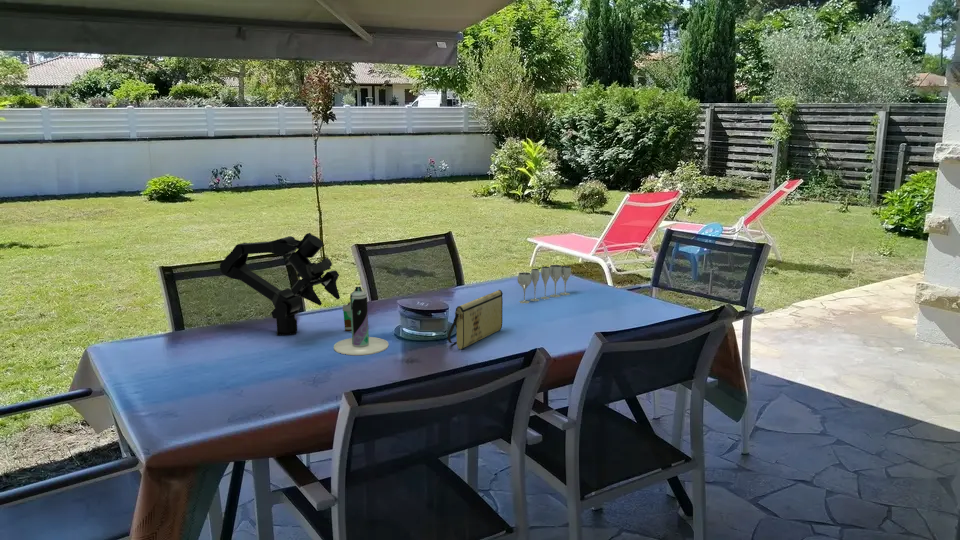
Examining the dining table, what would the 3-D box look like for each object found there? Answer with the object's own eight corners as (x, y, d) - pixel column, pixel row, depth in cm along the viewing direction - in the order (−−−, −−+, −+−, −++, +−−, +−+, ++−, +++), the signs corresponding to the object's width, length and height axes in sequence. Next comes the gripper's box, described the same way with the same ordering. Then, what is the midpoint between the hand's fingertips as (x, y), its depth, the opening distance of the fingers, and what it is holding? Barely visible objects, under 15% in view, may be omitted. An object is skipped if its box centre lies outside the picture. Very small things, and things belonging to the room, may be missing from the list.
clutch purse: (488, 327, 265) (488, 287, 262) (505, 330, 262) (505, 289, 259) (441, 349, 241) (441, 305, 238) (459, 352, 237) (459, 308, 234)
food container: (359, 333, 258) (358, 306, 256) (343, 332, 259) (342, 305, 257) (371, 324, 270) (370, 297, 267) (356, 323, 271) (355, 296, 269)
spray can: (359, 348, 239) (356, 289, 235) (348, 345, 243) (346, 286, 239) (372, 344, 243) (370, 286, 239) (361, 341, 247) (359, 283, 243)
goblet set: (564, 292, 317) (565, 262, 314) (573, 294, 313) (574, 264, 310) (514, 301, 301) (514, 270, 298) (523, 304, 296) (523, 272, 294)
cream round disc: (335, 357, 232) (335, 355, 232) (332, 340, 249) (331, 339, 249) (391, 352, 237) (391, 351, 237) (384, 336, 254) (384, 335, 254)
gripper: (296, 256, 239) (323, 293, 236) (333, 247, 255) (360, 281, 252) (279, 277, 244) (306, 313, 241) (317, 267, 260) (343, 301, 257)
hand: (330, 301), depth 248 cm, fingers open, 9 cm apart
